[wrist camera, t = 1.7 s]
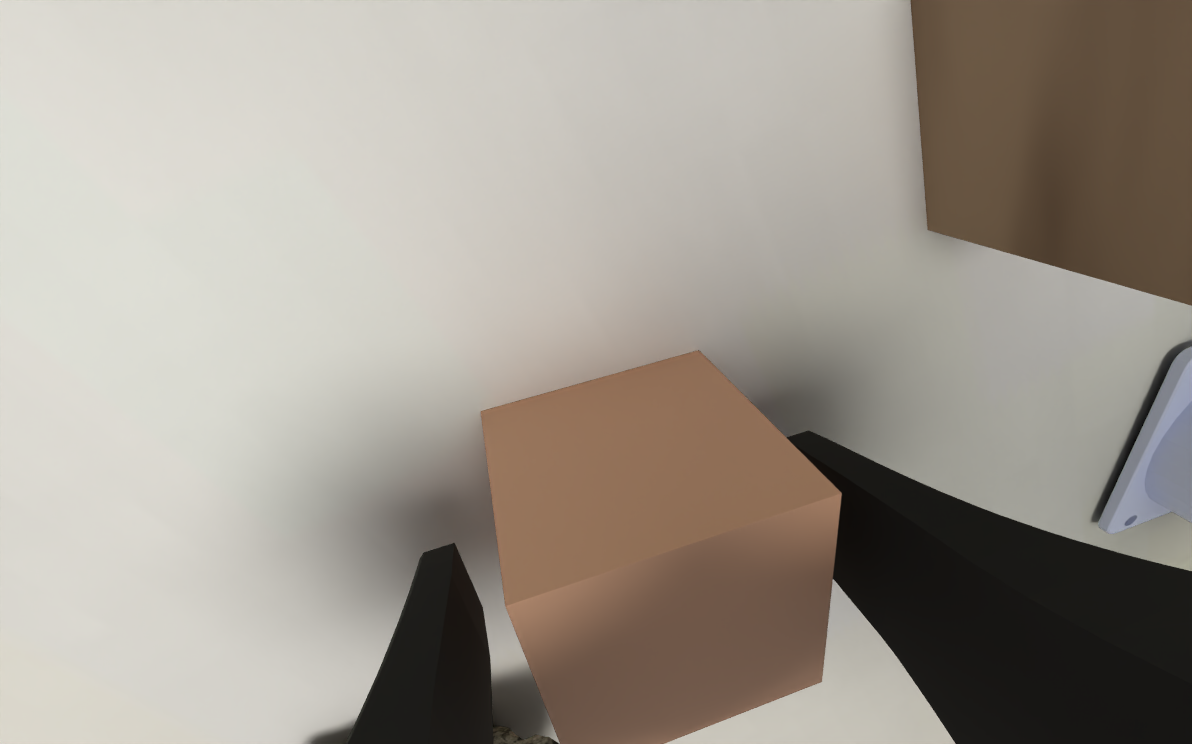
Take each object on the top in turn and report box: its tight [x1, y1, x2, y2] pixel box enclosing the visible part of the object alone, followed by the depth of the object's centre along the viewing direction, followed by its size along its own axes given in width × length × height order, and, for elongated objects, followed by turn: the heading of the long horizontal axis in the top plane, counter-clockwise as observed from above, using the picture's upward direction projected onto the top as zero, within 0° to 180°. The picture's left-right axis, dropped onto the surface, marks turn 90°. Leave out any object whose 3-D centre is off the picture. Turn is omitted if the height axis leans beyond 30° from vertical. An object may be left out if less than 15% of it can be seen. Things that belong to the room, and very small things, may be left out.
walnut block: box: [911, 0, 1192, 305], centre depth 9 cm, size 5×5×5 cm
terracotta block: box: [481, 350, 842, 744], centre depth 11 cm, size 5×5×5 cm
